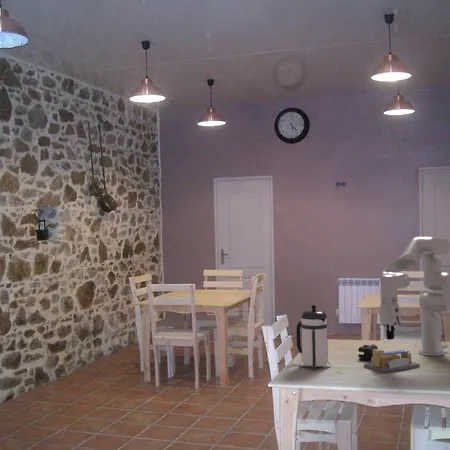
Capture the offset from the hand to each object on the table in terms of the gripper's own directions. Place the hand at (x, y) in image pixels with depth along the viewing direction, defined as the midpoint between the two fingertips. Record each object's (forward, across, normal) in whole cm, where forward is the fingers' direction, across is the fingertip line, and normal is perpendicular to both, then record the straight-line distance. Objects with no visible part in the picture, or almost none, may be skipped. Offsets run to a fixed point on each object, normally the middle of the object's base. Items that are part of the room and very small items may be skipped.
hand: (390, 338), depth 297 cm
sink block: (+13, 0, 0) cm, 14 cm away
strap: (+7, 0, -2) cm, 8 cm away
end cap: (+14, +19, -2) cm, 23 cm away
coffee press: (+13, +21, +31) cm, 39 cm away
